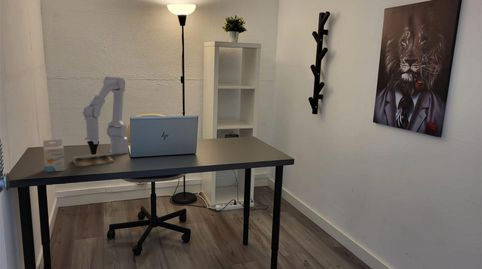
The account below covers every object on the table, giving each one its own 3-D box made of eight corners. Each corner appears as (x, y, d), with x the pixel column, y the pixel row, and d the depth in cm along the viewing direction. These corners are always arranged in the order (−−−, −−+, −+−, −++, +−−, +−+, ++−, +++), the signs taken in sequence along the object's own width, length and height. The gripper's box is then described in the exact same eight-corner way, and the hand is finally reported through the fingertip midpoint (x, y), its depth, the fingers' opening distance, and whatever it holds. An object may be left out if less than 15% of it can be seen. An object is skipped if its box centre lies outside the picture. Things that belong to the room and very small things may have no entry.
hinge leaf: (108, 155, 201) (107, 152, 201) (112, 155, 192) (111, 152, 193) (73, 159, 191) (72, 156, 191) (75, 158, 183) (75, 155, 183)
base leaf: (108, 156, 201) (107, 152, 201) (113, 162, 192) (113, 157, 191) (73, 160, 191) (72, 156, 191) (76, 166, 182) (76, 161, 182)
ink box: (45, 172, 171) (43, 142, 168) (44, 169, 175) (42, 140, 172) (65, 170, 176) (63, 141, 173) (63, 167, 180) (62, 138, 177)
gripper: (81, 127, 190) (82, 151, 193) (87, 132, 178) (88, 158, 181) (95, 126, 194) (96, 150, 197) (101, 131, 182) (102, 157, 185)
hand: (93, 154), depth 189 cm, fingers closed, pressing on hinge leaf
